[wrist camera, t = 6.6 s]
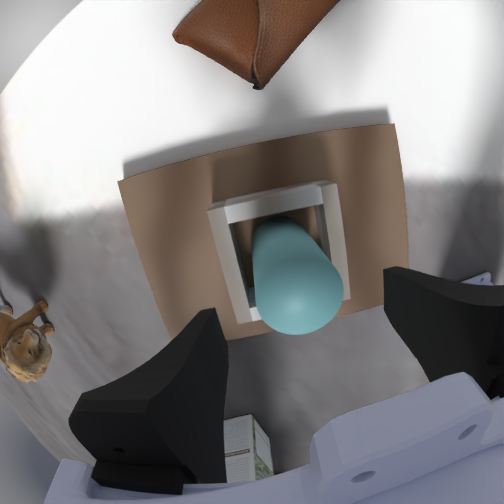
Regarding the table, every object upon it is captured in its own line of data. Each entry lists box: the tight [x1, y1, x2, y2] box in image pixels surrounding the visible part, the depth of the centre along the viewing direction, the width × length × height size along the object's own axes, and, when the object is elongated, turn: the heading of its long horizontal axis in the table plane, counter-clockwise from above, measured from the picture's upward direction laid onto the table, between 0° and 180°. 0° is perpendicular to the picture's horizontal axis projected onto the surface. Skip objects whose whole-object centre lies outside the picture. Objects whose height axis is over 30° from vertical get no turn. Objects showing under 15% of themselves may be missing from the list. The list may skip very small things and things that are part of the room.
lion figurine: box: [0, 300, 54, 382], centre depth 19 cm, size 15×5×9 cm, turn 81°
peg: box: [251, 216, 344, 335], centre depth 17 cm, size 4×4×8 cm
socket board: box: [117, 124, 409, 341], centre depth 20 cm, size 20×14×4 cm
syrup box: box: [224, 414, 274, 483], centre depth 22 cm, size 6×6×14 cm
